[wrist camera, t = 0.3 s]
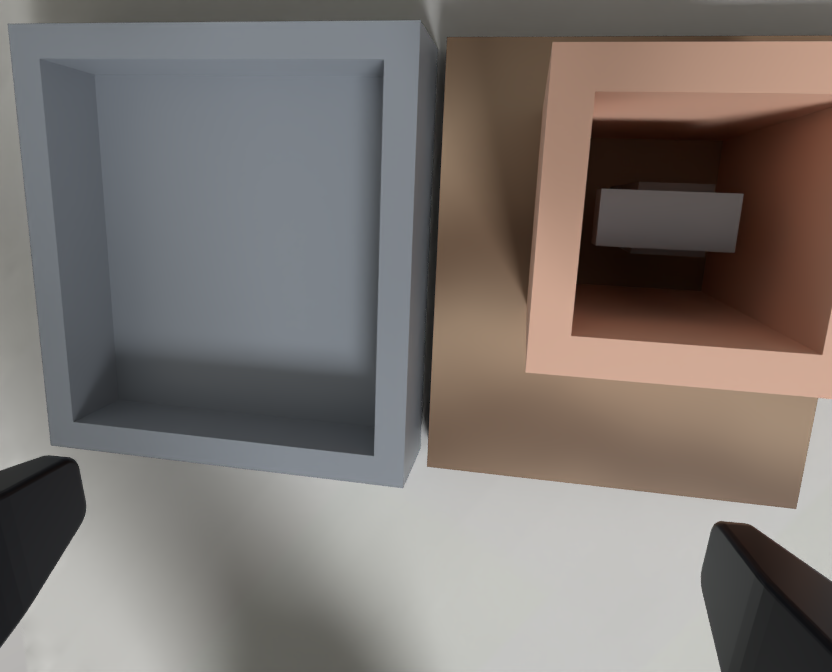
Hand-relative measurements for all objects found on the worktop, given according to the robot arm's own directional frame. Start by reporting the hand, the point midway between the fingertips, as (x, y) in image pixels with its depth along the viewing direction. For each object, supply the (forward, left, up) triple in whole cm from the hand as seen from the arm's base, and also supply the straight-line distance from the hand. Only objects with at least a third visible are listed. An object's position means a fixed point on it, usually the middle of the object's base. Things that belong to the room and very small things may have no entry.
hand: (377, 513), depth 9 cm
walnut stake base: (+2, -5, -14) cm, 15 cm away
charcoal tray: (+2, +8, -14) cm, 16 cm away
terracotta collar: (+4, -5, -12) cm, 14 cm away
